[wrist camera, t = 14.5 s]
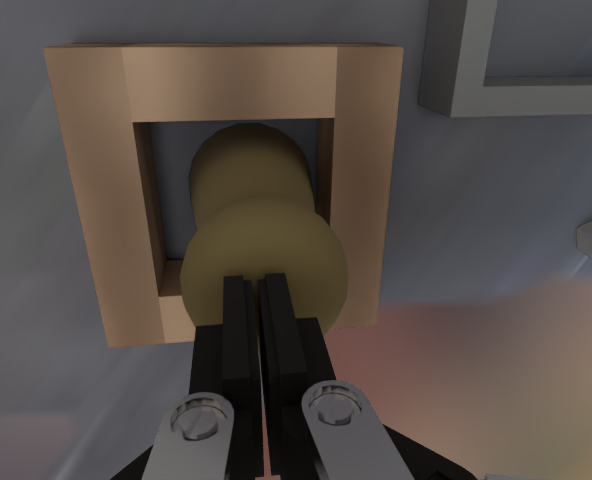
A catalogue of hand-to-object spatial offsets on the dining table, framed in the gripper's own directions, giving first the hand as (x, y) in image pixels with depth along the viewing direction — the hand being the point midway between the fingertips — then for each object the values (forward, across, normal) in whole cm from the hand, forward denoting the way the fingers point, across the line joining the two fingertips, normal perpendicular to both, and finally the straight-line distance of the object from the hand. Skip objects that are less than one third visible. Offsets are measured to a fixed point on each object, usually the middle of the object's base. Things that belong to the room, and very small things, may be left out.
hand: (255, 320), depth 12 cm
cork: (+11, 0, 0) cm, 11 cm away
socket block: (+11, 0, 0) cm, 11 cm away
